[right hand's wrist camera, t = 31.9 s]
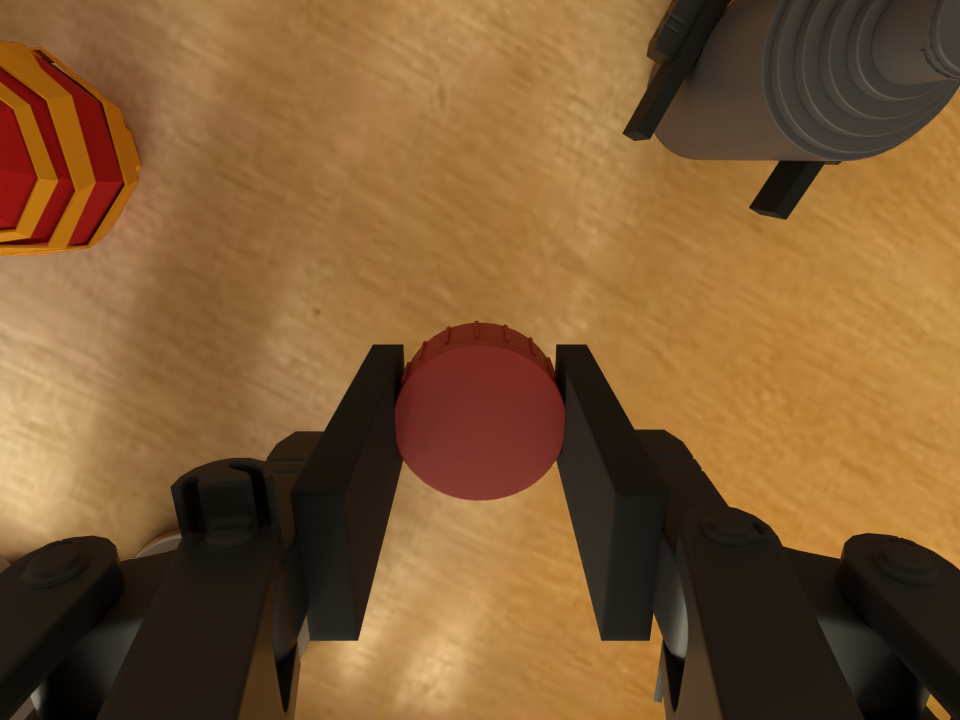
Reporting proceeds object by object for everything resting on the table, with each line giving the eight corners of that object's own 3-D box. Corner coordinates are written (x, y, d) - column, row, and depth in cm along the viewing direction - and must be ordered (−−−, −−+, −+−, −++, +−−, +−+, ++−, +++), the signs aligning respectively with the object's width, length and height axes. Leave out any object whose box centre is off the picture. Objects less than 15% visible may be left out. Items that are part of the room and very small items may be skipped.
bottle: (620, 107, 33) (794, 46, 15) (708, -7, 31) (1028, -235, 13) (707, 184, 35) (961, 214, 17) (796, 81, 33) (1193, -15, 15)
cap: (475, 492, 15) (474, 532, 14) (367, 390, 14) (353, 420, 13) (591, 402, 14) (605, 433, 13) (485, 286, 13) (485, 303, 12)
